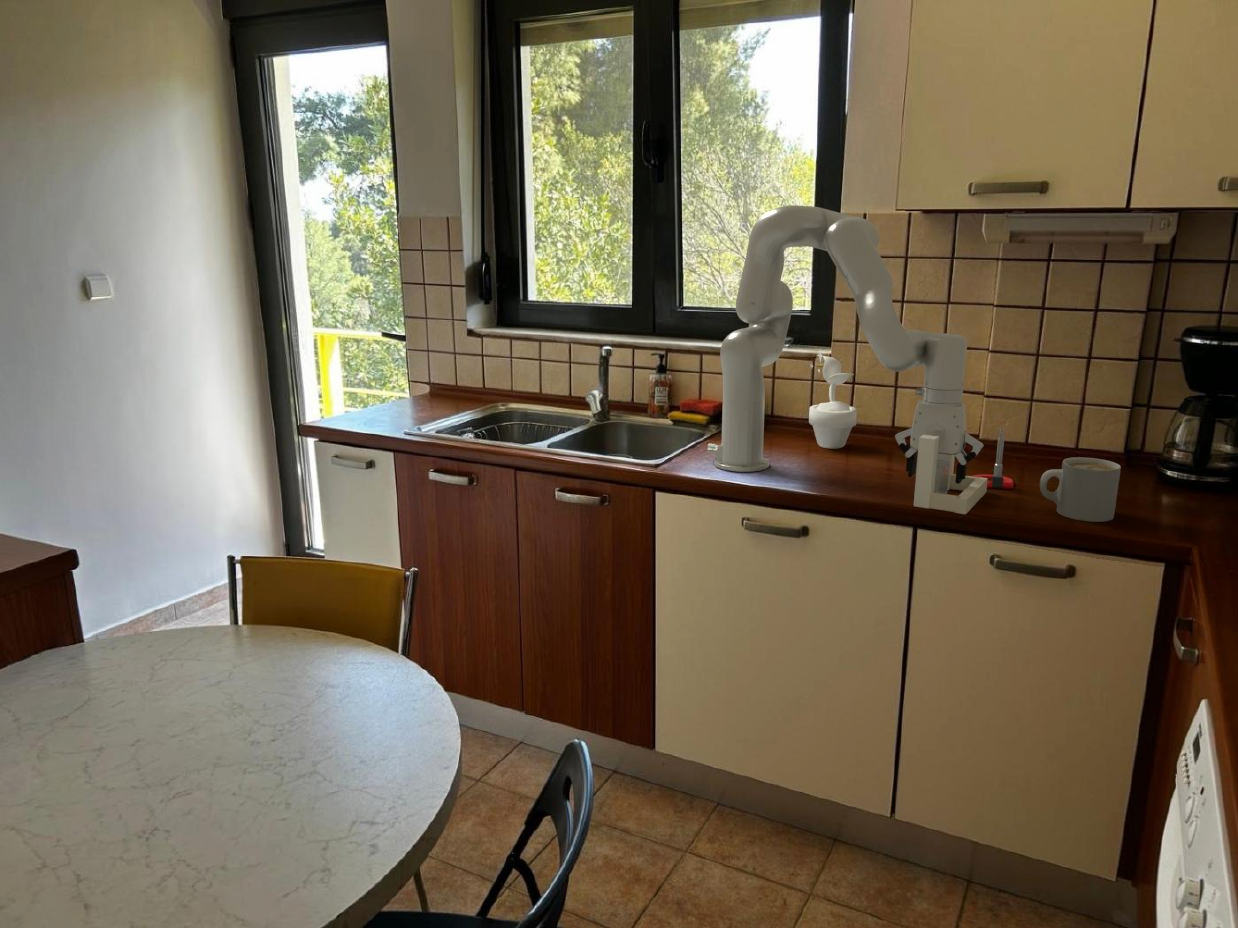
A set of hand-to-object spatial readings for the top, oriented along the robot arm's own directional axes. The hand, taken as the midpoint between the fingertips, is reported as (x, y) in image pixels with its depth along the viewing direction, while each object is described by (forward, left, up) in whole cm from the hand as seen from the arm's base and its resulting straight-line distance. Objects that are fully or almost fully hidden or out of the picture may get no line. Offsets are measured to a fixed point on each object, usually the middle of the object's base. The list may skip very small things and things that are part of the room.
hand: (934, 478), depth 188 cm
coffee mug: (+26, +4, -4) cm, 27 cm away
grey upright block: (0, 0, -4) cm, 4 cm away
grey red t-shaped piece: (+8, +17, -4) cm, 19 cm away
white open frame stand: (+4, 0, -4) cm, 5 cm away
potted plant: (-33, +30, -4) cm, 45 cm away
